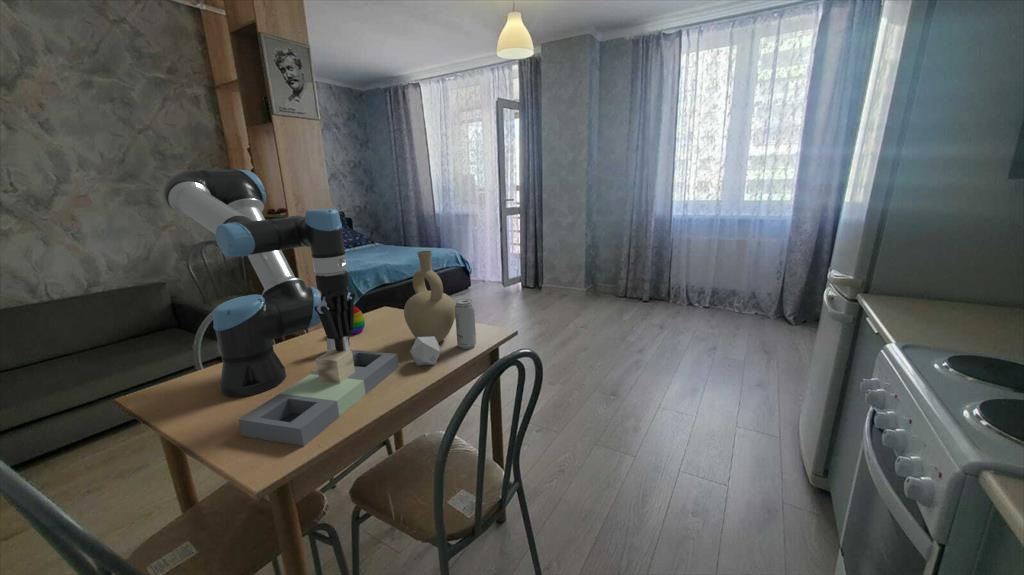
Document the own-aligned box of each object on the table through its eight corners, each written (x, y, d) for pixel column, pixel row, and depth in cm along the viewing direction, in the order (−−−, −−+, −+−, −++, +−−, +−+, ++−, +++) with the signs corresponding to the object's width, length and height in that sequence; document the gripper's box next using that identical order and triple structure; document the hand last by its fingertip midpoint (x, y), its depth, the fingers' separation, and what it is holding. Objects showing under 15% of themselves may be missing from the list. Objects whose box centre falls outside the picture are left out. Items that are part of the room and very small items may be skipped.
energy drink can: (455, 344, 132) (452, 300, 128) (473, 341, 134) (470, 297, 130) (460, 351, 127) (456, 305, 123) (478, 347, 129) (476, 302, 125)
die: (427, 374, 113) (444, 344, 114) (401, 359, 114) (418, 329, 115) (433, 371, 122) (449, 343, 123) (408, 357, 122) (424, 329, 123)
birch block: (319, 381, 102) (315, 358, 100) (335, 370, 107) (331, 349, 106) (340, 383, 100) (336, 360, 99) (355, 372, 106) (351, 350, 104)
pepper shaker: (341, 354, 127) (335, 321, 124) (323, 355, 127) (318, 321, 124) (348, 347, 132) (343, 315, 129) (331, 348, 132) (326, 316, 130)
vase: (398, 341, 136) (388, 252, 129) (440, 328, 147) (433, 245, 139) (423, 355, 124) (414, 259, 117) (467, 340, 135) (462, 251, 127)
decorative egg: (370, 329, 148) (367, 303, 145) (354, 337, 141) (350, 310, 138) (353, 327, 151) (349, 301, 149) (336, 334, 144) (332, 308, 141)
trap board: (242, 435, 87) (238, 419, 86) (351, 361, 122) (349, 349, 120) (303, 446, 83) (300, 429, 82) (398, 366, 117) (397, 353, 116)
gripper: (326, 279, 93) (341, 372, 100) (360, 267, 106) (371, 351, 112) (299, 278, 95) (315, 370, 101) (335, 266, 107) (347, 349, 114)
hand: (344, 360), depth 107 cm, fingers closed
